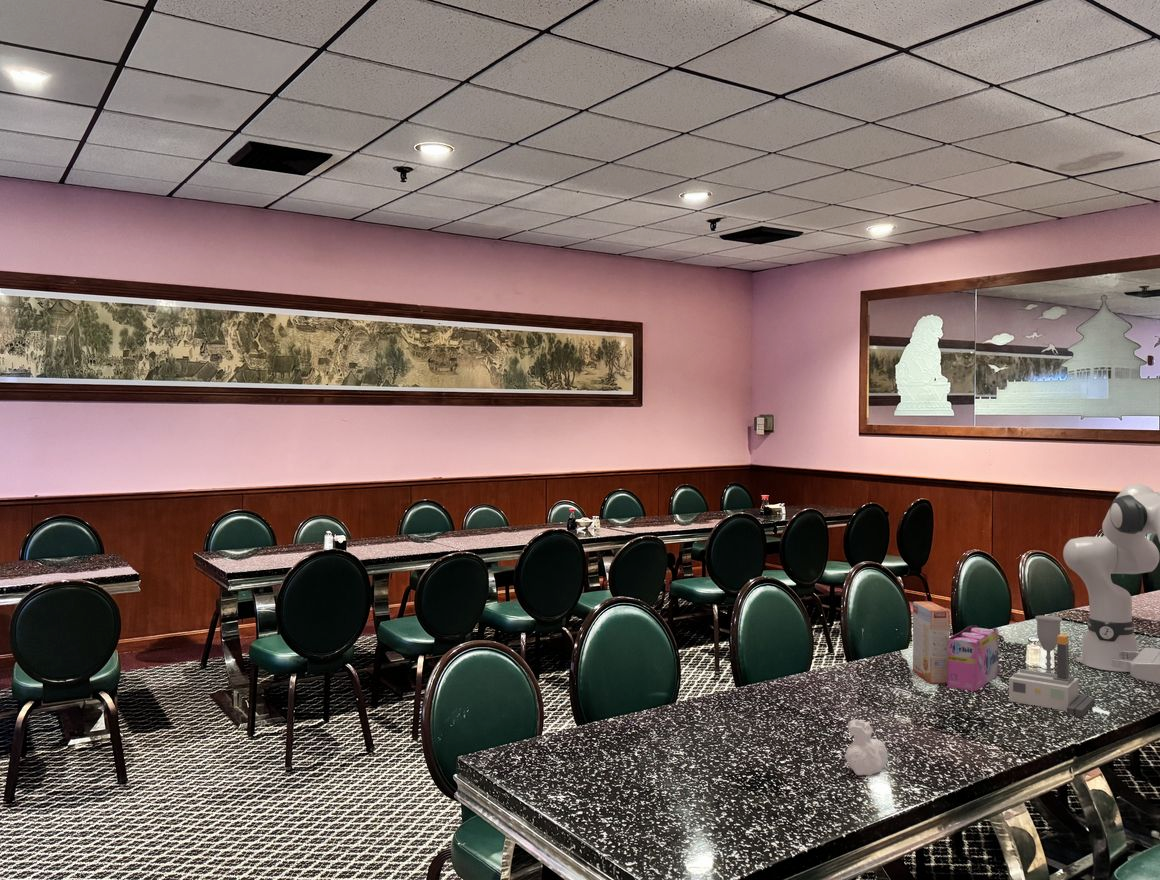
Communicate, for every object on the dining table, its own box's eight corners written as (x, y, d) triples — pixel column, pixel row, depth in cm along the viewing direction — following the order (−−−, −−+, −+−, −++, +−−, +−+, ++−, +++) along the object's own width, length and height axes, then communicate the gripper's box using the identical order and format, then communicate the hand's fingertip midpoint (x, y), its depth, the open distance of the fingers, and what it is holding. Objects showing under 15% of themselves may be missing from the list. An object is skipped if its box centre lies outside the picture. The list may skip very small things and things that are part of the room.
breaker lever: (1057, 678, 240) (1057, 633, 240) (1072, 680, 238) (1072, 635, 238) (1053, 681, 237) (1053, 636, 237) (1068, 684, 234) (1068, 638, 234)
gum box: (972, 669, 273) (972, 624, 273) (1000, 674, 268) (1000, 627, 268) (946, 687, 254) (946, 638, 254) (976, 692, 249) (976, 642, 249)
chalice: (1059, 686, 254) (1059, 621, 254) (1032, 682, 259) (1032, 618, 259) (1064, 680, 260) (1064, 617, 260) (1038, 676, 264) (1038, 614, 264)
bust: (881, 773, 195) (854, 724, 201) (905, 760, 191) (877, 709, 196) (845, 787, 188) (818, 735, 194) (870, 773, 183) (841, 720, 189)
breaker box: (1020, 692, 249) (1020, 667, 249) (1078, 701, 240) (1078, 675, 240) (1008, 701, 240) (1008, 675, 240) (1067, 711, 231) (1067, 684, 231)
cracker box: (950, 684, 257) (950, 609, 257) (929, 684, 257) (929, 609, 257) (932, 671, 271) (932, 600, 271) (912, 671, 271) (912, 600, 271)
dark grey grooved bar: (1081, 699, 241) (1081, 693, 241) (1096, 702, 239) (1096, 696, 239) (1067, 713, 229) (1067, 707, 229) (1082, 716, 227) (1082, 710, 227)
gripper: (1187, 646, 229) (1124, 638, 238) (1174, 663, 214) (1107, 653, 223) (1187, 671, 229) (1123, 662, 238) (1174, 690, 214) (1107, 679, 223)
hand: (1115, 658), depth 230 cm, fingers open, 8 cm apart
